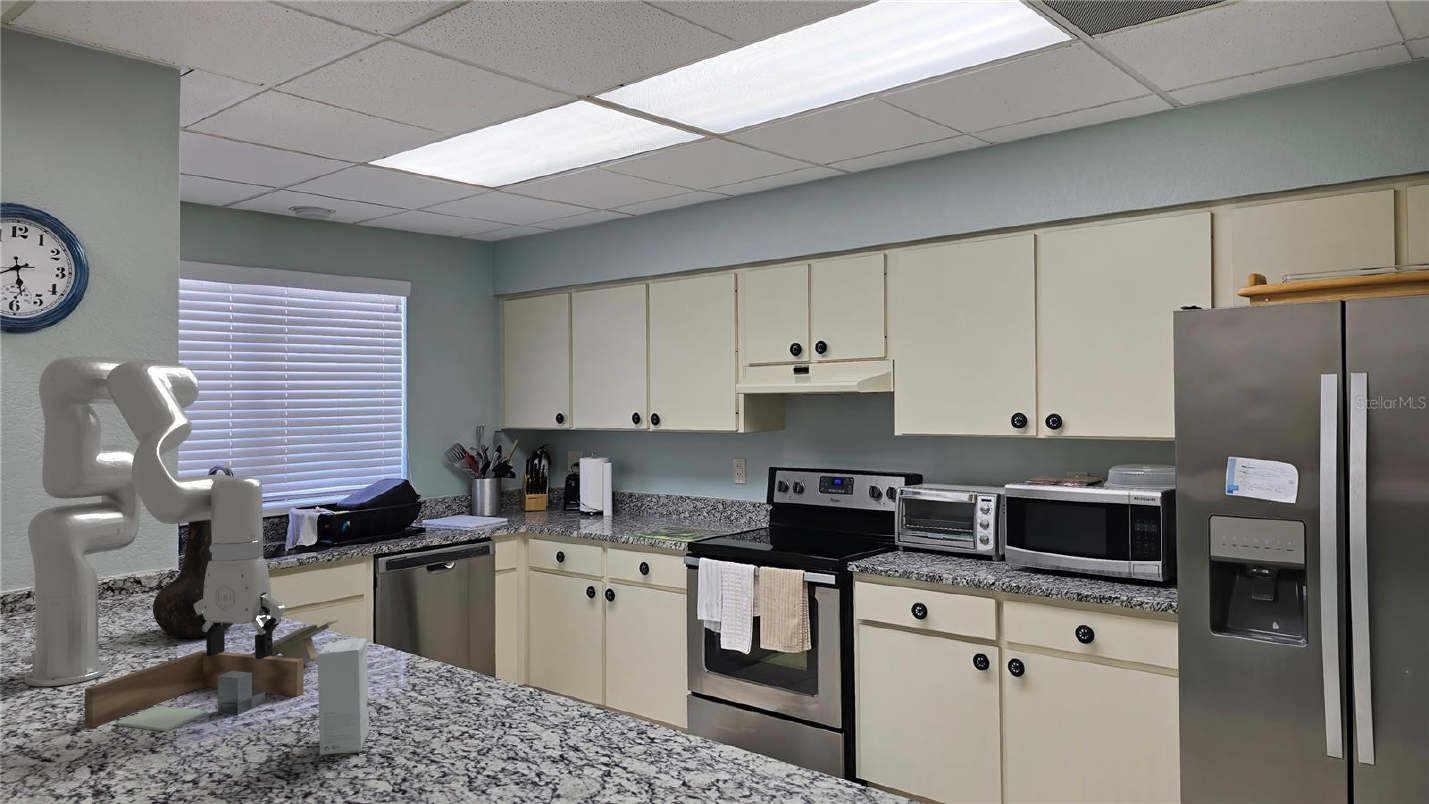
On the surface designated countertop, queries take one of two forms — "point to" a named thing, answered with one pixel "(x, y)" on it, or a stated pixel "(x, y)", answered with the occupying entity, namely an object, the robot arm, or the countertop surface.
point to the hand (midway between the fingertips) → (239, 655)
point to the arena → (188, 682)
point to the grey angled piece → (299, 643)
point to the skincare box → (343, 696)
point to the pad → (161, 718)
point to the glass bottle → (187, 587)
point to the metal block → (237, 693)
